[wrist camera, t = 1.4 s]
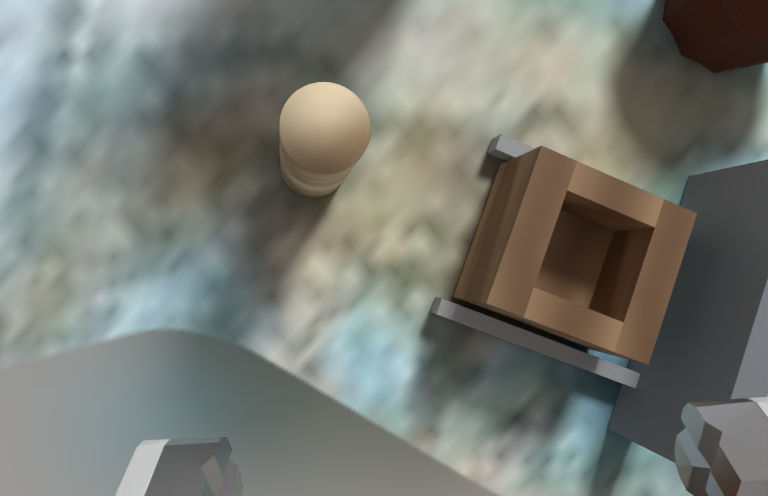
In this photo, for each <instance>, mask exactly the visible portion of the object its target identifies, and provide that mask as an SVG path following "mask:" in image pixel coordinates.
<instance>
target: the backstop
mask: <svg viewBox="0 0 768 496" xmlns="http://www.w3.org/2000/svg"><path fill="white" fill-rule="evenodd" d="M531 150H534V148H532V147H530V146H527V145H525V144H523V143H521V142H518V141H516V140H514V139H511V138H509V137H507V136H504V135H502V134H500V135H499V136H497V137H495V138H493V139H492V141H491V144H490V147H489V150H488V152H487V154H490V155H492V156H494V157H497V158H499V159H501V160H504V161H506V162H507V161H509V160H511V159H514V158H516V157H518V156H520V155H522V154H525V153H527V152H529V151H531ZM680 206H681V207H683V208H685V209H688V210H690V211H692V212H695V213H697V215H696V219H695V222H694V225H693V228H692V231H691V234H690V237H689V240H688V243H687V247H686V250H685V253H684V256H683V259H682V262H681V265H680V268H679V271H678V275H677V278H676V281H675V284H674V287H673V290H672V293H671V296H670V299H669V302H668V306H667V309H666V312H665V315H664V318H663V321H662V324H661V327H660V330H659V334H658V337H657V340H656V343H655V346H654V349H653V352H652V355H651V358H650V362H649V365H647V364H643V363H639V362H636V361H632V360H629V364H628V367H627V368H624V367H622V366H619V365H616V364H614V363H611V362H609V361H606V360H603V359H601V358H598V357H595V356H593V355H590V354H587V353H585V352H582V351H579V350H577V349H574V348H571V347H569V346H566V345H564V344H561V343H558V342H556V341H553V340H550V339H548V338H545V337H542V336H540V335H537V334H534V333H532V332H529V331H527V330H524V329H521V328H519V327H516V326H513V325H511V324H508V323H505V322H503V321H500V320H497V319H495V318H492V317H489V316H487V315H484V314H482V313H479V312H476V311H474V310H471V309H468V308H466V307H463V306H460V305H458V304H455V303H452V302H450V301H447V300H444V299H442V298H437V297H435V300H434V303H433V306H432V308H431V311H430V312H431V313H434V314H436V315H439V316H442V317H444V318H447V319H450V320H452V321H455V322H458V323H460V324H463V325H466V326H468V327H471V328H474V329H476V330H479V331H482V332H485V333H487V334H490V335H493V336H495V337H498V338H501V339H503V340H506V341H509V342H511V343H514V344H517V345H519V346H522V347H525V348H527V349H530V350H533V351H536V352H538V353H541V354H544V355H546V356H549V357H552V358H554V359H557V360H560V361H562V362H565V363H568V364H570V365H573V366H576V367H578V368H581V369H584V370H587V371H589V372H592V373H595V374H597V375H600V376H603V377H605V378H608V379H611V380H613V381H616V382H619V383H621V384H622V385H621V388H620V391H619V394H618V397H617V400H616V404H615V407H614V410H613V413H612V416H611V419H610V422H609V425H608V428H607V429H609V430H611V431H613V432H615V433H617V434H619V435H621V436H623V437H625V438H627V439H629V440H631V441H633V442H635V443H637V444H639V445H641V446H643V447H645V448H647V449H649V450H651V451H653V452H655V453H657V454H659V455H661V456H663V457H665V458H667V459H669V460H671V461H673V462H675V463H676V460H675V451H674V447H675V442H676V436H677V435H678V434H679V433H680V432H681V431H683V430H684V429H685V428H686V427H685V425H684V423H683V421H682V419H681V415H682V411H683V408H684V407H685V406H686V404H687V403H691V402H704V401H716V400H728V399H740V398H745V399H748V398H758V397H767V395H768V160H763V161H759V162H754V163H749V164H745V165H740V166H735V167H731V168H726V169H721V170H717V171H712V172H707V173H703V174H698V175H693V176H689V179H688V182H687V185H686V188H685V191H684V194H683V197H682V200H681V204H680Z"/></svg>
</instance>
